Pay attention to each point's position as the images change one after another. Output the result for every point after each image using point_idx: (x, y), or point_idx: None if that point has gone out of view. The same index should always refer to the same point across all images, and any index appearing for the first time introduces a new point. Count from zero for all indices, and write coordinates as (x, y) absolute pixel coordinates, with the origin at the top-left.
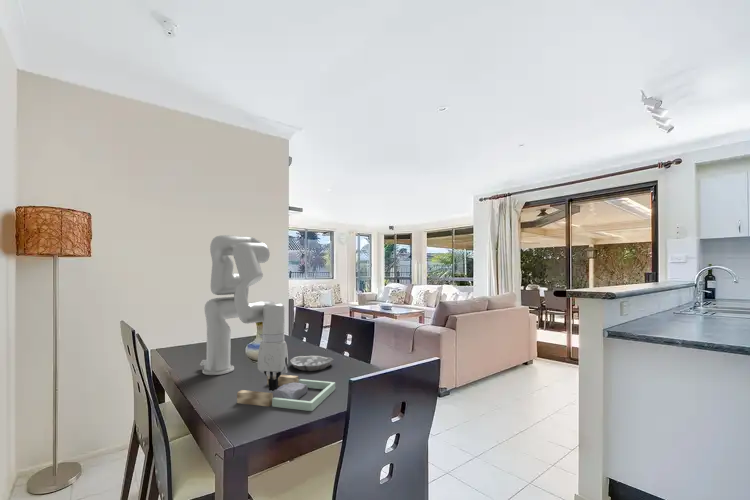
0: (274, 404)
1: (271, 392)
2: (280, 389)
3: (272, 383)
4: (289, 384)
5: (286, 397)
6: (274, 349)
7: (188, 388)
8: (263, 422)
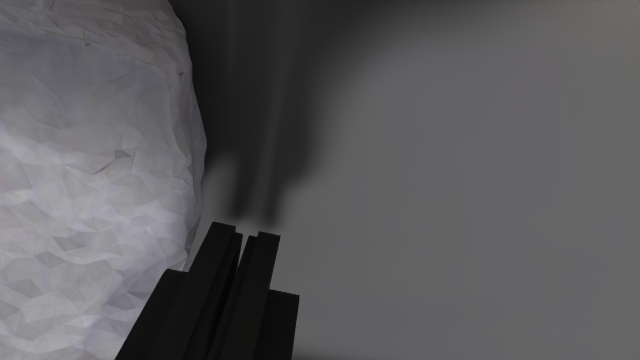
0: None
1: (123, 54)
2: (14, 170)
3: (182, 301)
4: (18, 351)
5: None
6: None
7: None
8: None
